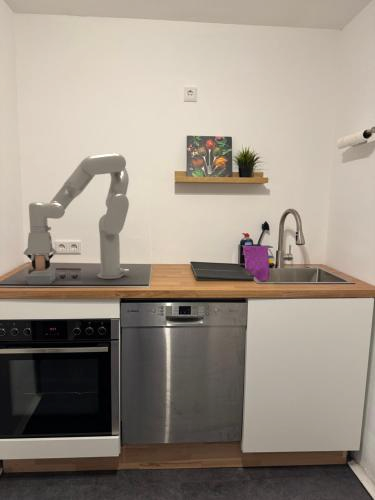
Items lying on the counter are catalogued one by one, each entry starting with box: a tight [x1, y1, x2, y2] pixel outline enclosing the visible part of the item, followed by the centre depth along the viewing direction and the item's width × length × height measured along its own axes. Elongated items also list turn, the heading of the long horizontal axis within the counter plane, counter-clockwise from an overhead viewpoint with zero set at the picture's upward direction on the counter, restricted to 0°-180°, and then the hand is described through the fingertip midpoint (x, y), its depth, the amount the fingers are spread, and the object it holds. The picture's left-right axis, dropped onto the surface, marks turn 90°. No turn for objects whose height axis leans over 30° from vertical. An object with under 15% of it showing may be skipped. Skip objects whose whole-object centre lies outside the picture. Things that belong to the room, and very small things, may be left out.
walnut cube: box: [27, 267, 36, 275], centre depth 174 cm, size 4×4×4 cm
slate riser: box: [26, 270, 56, 285], centre depth 165 cm, size 10×10×4 cm
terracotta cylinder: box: [35, 254, 48, 271], centre depth 163 cm, size 5×5×7 cm
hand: (41, 267), depth 164 cm, fingers closed on terracotta cylinder, 4 cm apart
